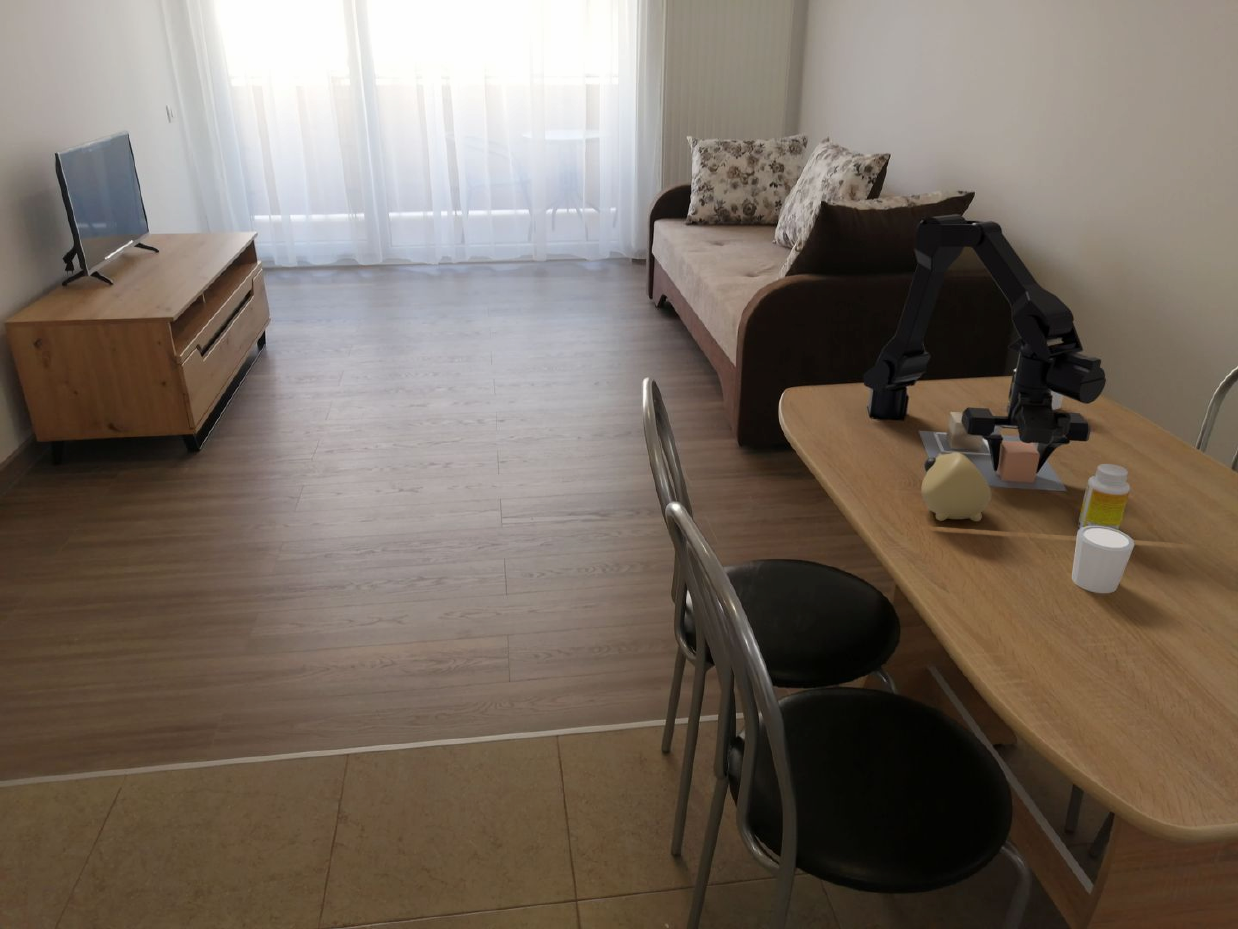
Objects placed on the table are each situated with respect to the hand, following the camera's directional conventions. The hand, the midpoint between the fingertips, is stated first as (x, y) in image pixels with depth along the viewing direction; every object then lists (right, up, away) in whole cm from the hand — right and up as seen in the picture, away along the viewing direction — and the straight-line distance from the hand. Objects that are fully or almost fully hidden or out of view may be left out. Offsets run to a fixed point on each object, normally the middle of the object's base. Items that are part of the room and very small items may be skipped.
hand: (1015, 471), depth 155 cm
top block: (0, -1, 0) cm, 1 cm away
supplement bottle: (+6, -9, -16) cm, 19 cm away
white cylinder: (-1, -15, -28) cm, 32 cm away
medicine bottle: (+17, +13, +31) cm, 37 cm away
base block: (-4, +5, +12) cm, 13 cm away
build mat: (-2, +2, +6) cm, 7 cm away
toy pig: (-15, -7, -11) cm, 20 cm away
